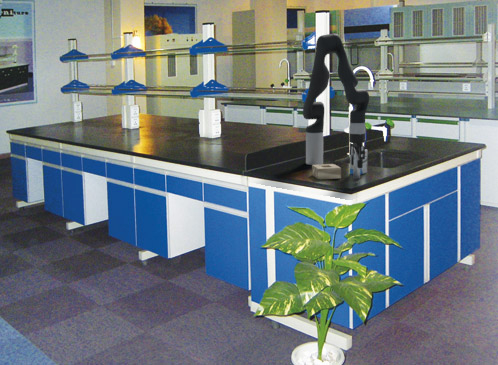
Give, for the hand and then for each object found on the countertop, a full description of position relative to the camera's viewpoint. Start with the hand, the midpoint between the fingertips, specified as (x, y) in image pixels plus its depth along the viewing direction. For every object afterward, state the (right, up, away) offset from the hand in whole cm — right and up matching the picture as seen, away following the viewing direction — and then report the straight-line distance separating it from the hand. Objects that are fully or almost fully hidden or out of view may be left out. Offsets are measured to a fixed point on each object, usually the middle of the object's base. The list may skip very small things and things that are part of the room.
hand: (356, 166), depth 287 cm
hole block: (-14, -5, +7) cm, 16 cm away
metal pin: (0, -6, +1) cm, 6 cm away
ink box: (+3, -3, +13) cm, 14 cm away
